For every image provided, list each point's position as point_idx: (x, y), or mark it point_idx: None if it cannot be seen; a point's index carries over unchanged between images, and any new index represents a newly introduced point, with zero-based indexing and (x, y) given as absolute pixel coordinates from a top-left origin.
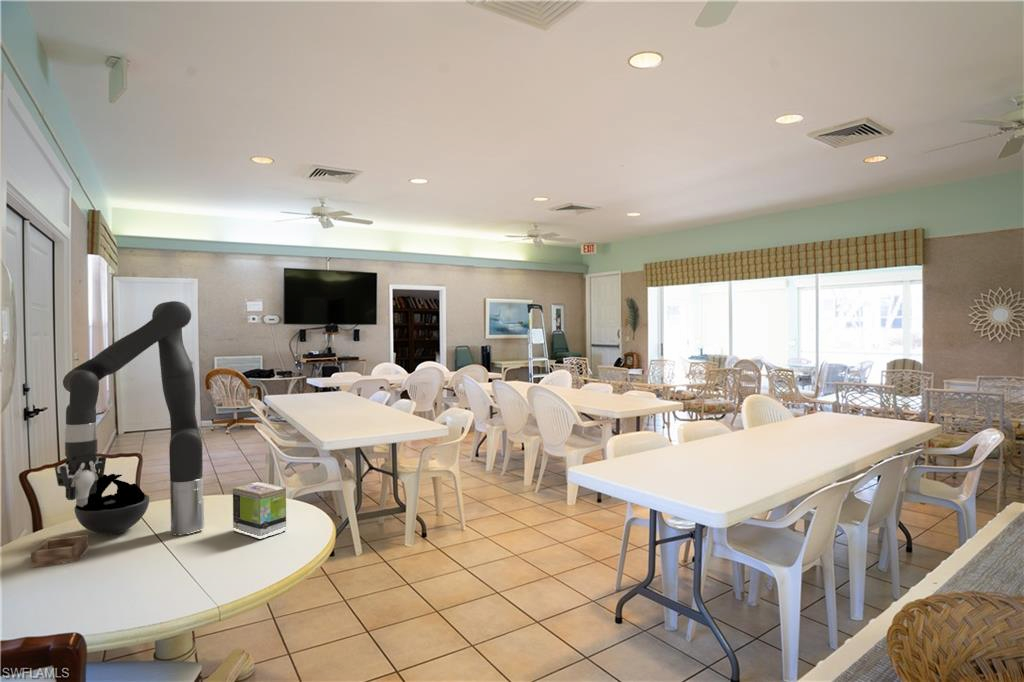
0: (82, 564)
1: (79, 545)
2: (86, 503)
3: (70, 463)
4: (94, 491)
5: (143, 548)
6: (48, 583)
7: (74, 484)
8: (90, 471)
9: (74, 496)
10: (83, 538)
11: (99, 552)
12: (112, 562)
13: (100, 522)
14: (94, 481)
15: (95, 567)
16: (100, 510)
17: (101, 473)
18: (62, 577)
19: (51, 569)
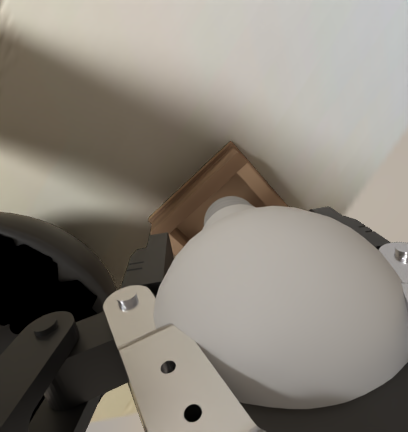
0: (242, 99)
1: (213, 172)
2: (219, 200)
3: None
4: (159, 236)
5: (70, 31)
6: (370, 47)
7: (390, 256)
8: (239, 349)
9: (326, 212)
10: (176, 212)
11: (160, 149)
12: (200, 12)
13: (93, 255)
14: (152, 282)
15: (247, 28)
16: (79, 281)
17: (42, 344)
18: (330, 53)
19: (293, 150)
